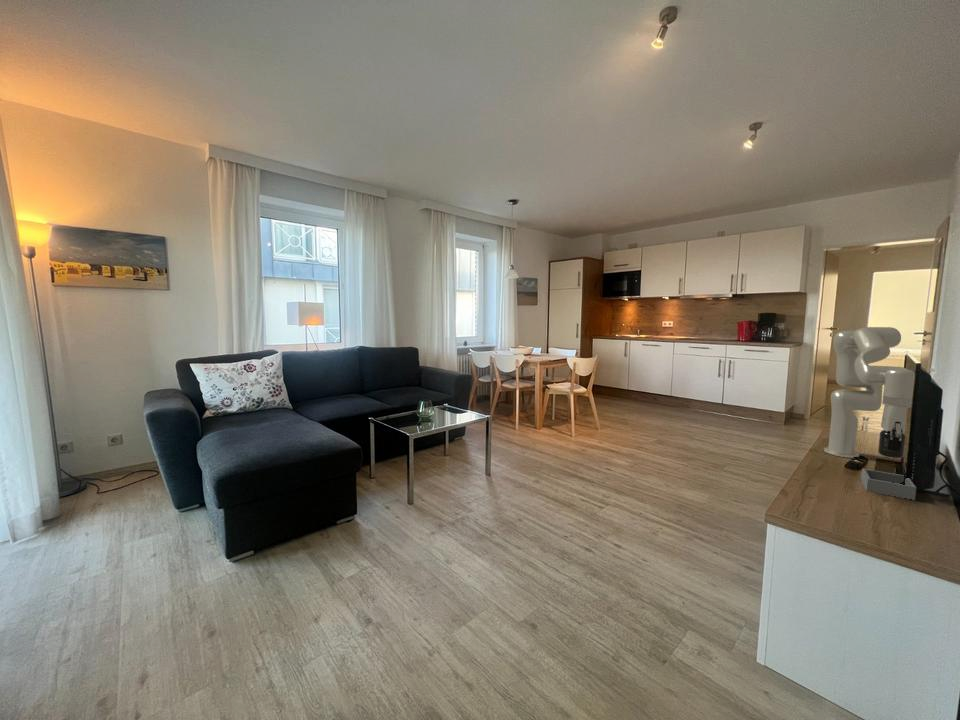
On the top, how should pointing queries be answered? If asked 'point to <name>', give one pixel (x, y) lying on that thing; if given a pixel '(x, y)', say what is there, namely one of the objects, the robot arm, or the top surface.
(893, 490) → the bin
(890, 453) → the supplement bottle
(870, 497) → the top surface
